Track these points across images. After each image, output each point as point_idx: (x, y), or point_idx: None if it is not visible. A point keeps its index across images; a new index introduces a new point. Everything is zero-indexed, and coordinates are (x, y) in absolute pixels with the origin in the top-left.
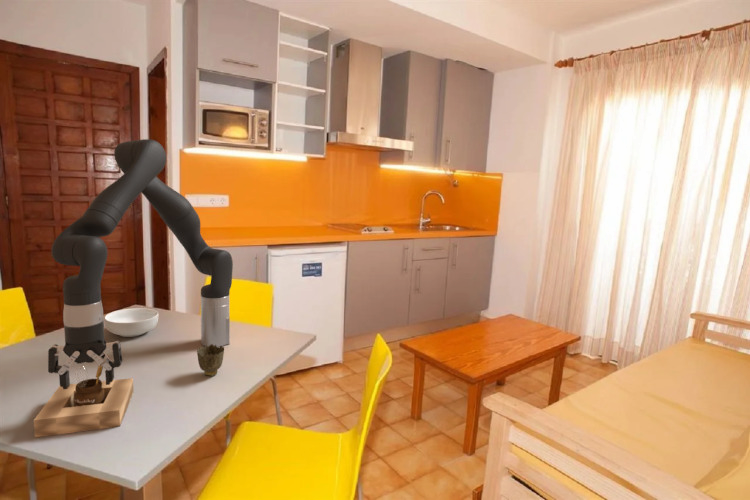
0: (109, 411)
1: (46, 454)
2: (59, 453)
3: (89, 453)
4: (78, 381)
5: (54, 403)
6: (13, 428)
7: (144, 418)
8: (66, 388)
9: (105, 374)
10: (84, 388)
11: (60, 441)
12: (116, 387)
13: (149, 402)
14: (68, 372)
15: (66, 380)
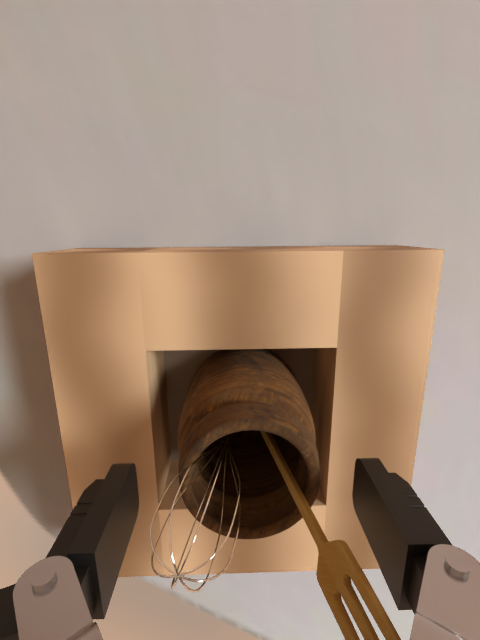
0: (361, 568)
1: (186, 598)
2: (221, 600)
3: (303, 614)
4: (186, 488)
5: (103, 463)
6: (4, 445)
7: (446, 475)
8: (137, 514)
9: (385, 579)
10: (243, 537)
11: None
12: (362, 358)
13: (465, 361)
14: (100, 552)
15: (121, 558)
